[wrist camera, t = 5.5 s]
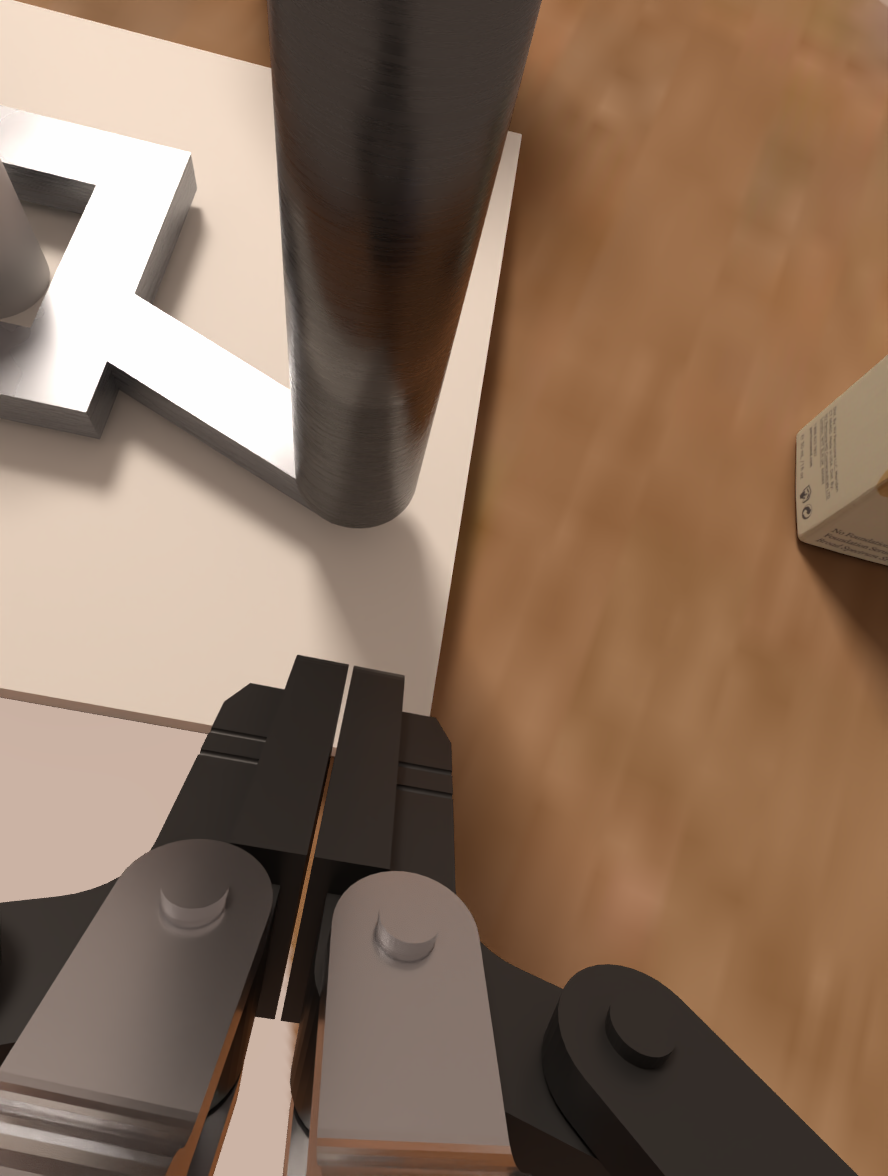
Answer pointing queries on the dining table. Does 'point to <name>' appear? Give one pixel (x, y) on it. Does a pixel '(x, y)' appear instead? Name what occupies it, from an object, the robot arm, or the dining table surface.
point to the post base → (182, 462)
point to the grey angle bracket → (289, 252)
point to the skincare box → (847, 471)
